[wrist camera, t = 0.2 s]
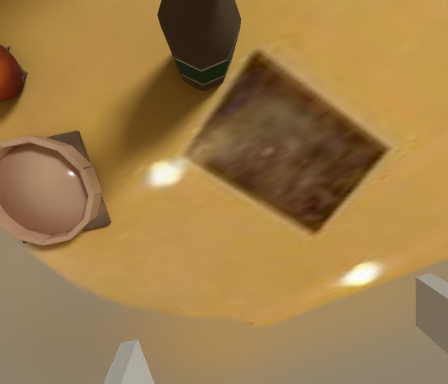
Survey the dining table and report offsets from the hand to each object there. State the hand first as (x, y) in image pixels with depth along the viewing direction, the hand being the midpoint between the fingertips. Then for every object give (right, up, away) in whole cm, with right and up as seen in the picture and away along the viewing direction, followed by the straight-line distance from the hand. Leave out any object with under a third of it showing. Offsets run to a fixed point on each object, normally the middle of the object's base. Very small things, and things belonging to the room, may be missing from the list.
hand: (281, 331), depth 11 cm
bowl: (-30, +7, +24) cm, 39 cm away
